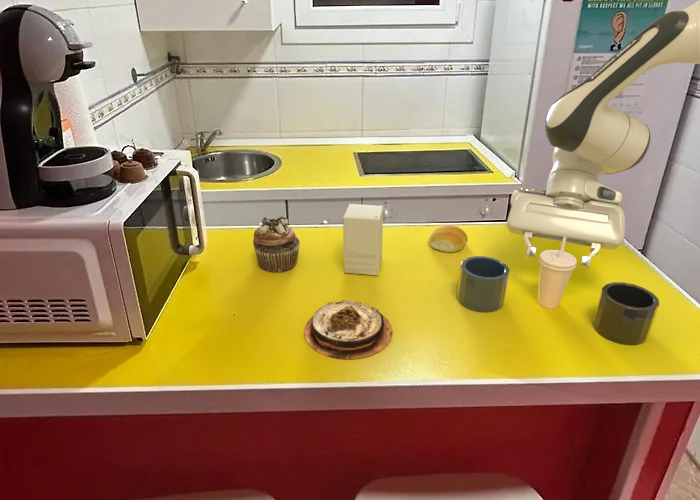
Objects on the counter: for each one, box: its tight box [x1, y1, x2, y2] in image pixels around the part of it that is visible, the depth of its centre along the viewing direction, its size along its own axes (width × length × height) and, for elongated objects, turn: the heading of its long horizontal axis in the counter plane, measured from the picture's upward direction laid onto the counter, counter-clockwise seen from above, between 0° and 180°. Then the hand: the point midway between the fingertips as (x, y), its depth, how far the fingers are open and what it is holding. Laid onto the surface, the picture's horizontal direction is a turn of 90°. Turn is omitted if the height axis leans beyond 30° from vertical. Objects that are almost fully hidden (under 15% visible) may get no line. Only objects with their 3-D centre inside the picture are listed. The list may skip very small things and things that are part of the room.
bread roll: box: [428, 224, 469, 253], centre depth 117 cm, size 8×9×4 cm
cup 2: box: [592, 281, 660, 346], centre depth 88 cm, size 9×9×7 cm
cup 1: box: [456, 255, 511, 313], centre depth 96 cm, size 9×9×7 cm
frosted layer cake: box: [303, 299, 393, 360], centre depth 88 cm, size 15×15×4 cm
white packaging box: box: [342, 203, 384, 276], centre depth 106 cm, size 7×7×13 cm
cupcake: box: [252, 216, 301, 274], centre depth 108 cm, size 10×10×10 cm
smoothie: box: [537, 236, 578, 309], centre depth 94 cm, size 6×6×14 cm
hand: (556, 262), depth 95 cm, fingers open, 8 cm apart
